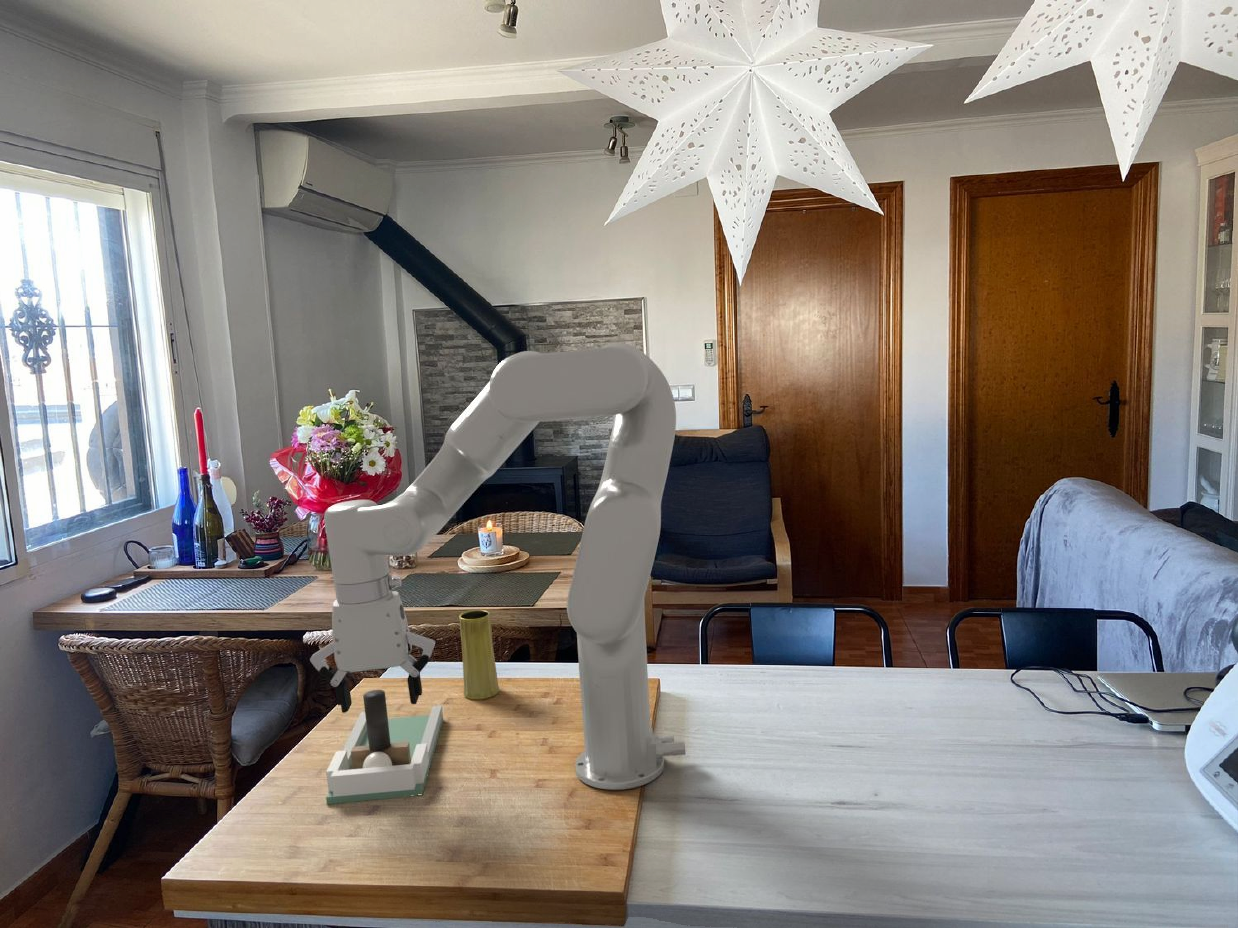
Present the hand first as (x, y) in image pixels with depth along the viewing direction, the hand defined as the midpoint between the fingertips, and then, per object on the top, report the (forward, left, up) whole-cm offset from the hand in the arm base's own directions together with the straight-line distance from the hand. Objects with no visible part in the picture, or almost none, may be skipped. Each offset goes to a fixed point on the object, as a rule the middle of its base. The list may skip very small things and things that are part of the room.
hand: (381, 704), depth 132 cm
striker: (+1, 0, -10) cm, 10 cm away
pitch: (+1, -6, -11) cm, 12 cm away
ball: (+1, +3, -8) cm, 9 cm away
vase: (-11, -27, -11) cm, 31 cm away
